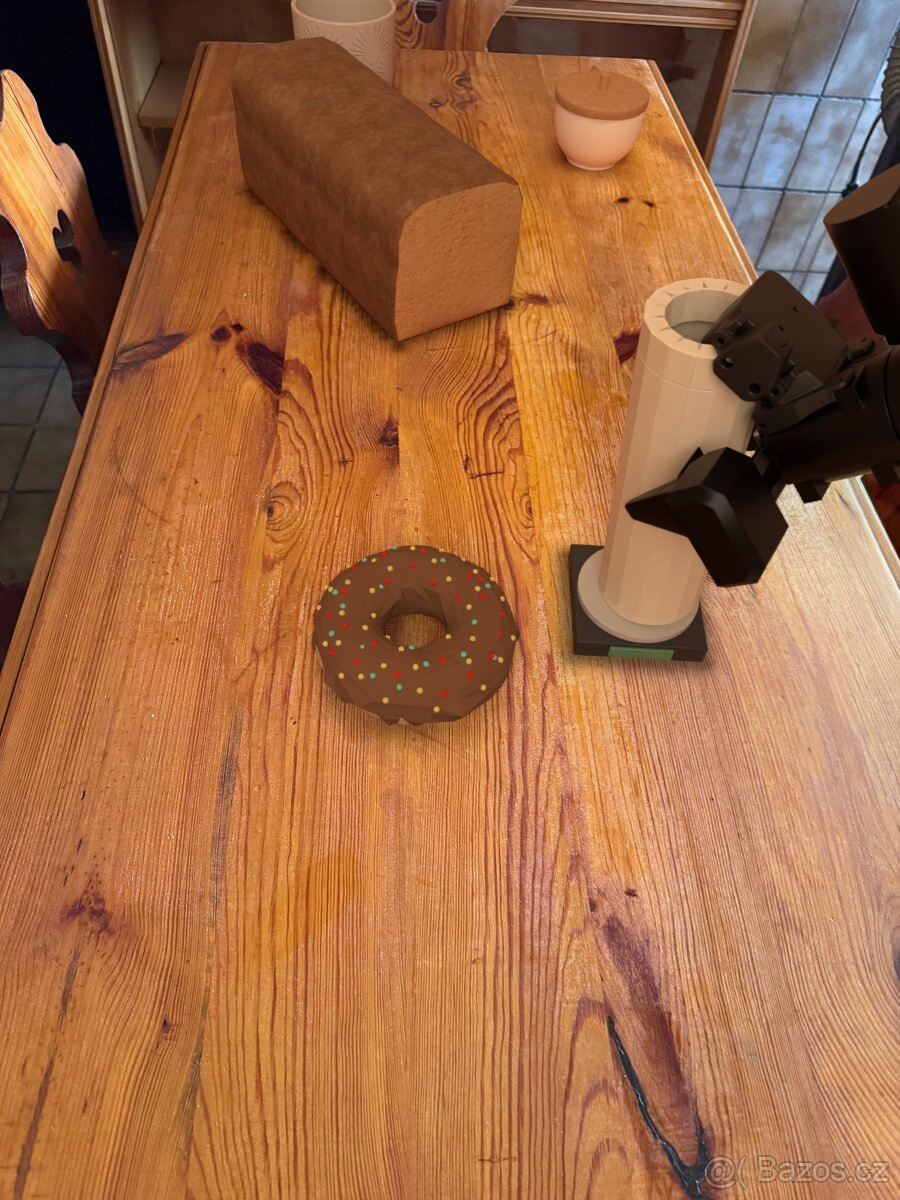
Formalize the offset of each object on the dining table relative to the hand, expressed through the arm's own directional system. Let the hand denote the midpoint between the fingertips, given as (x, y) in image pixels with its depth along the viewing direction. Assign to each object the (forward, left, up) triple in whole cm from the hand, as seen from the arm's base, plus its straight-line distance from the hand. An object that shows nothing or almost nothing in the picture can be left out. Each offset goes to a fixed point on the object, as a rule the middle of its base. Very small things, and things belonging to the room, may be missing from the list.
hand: (655, 475), depth 55 cm
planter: (+83, -11, -13) cm, 85 cm away
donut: (+1, +16, -13) cm, 20 cm away
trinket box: (+59, -33, -13) cm, 69 cm away
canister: (-1, -1, -10) cm, 10 cm away
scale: (-1, -1, -12) cm, 13 cm away
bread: (+51, -1, -13) cm, 53 cm away
